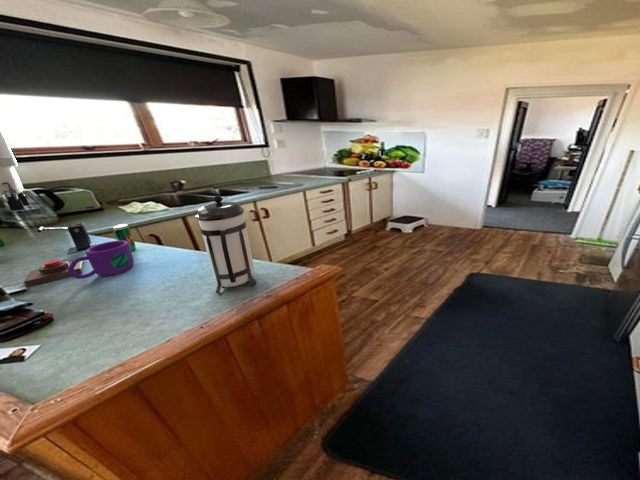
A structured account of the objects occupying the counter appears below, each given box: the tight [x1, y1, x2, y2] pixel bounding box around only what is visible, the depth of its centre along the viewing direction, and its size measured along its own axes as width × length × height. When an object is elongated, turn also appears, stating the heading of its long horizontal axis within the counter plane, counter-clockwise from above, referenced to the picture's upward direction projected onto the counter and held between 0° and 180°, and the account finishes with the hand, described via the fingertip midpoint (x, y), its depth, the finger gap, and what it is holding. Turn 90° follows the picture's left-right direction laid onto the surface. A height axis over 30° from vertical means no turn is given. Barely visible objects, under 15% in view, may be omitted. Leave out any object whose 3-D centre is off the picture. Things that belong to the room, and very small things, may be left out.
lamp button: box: [43, 258, 62, 268], centre depth 98 cm, size 4×4×2 cm
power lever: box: [36, 226, 69, 233], centre depth 115 cm, size 12×5×2 cm, turn 133°
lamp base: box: [24, 260, 85, 288], centre depth 99 cm, size 13×11×4 cm
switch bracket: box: [67, 222, 102, 255], centre depth 119 cm, size 10×8×12 cm
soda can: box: [112, 223, 137, 253], centre depth 116 cm, size 5×5×12 cm
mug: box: [68, 240, 135, 280], centre depth 97 cm, size 17×11×10 cm, turn 160°
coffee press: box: [195, 195, 257, 295], centre depth 85 cm, size 17×16×30 cm
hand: (20, 207), depth 106 cm, fingers open, 9 cm apart
